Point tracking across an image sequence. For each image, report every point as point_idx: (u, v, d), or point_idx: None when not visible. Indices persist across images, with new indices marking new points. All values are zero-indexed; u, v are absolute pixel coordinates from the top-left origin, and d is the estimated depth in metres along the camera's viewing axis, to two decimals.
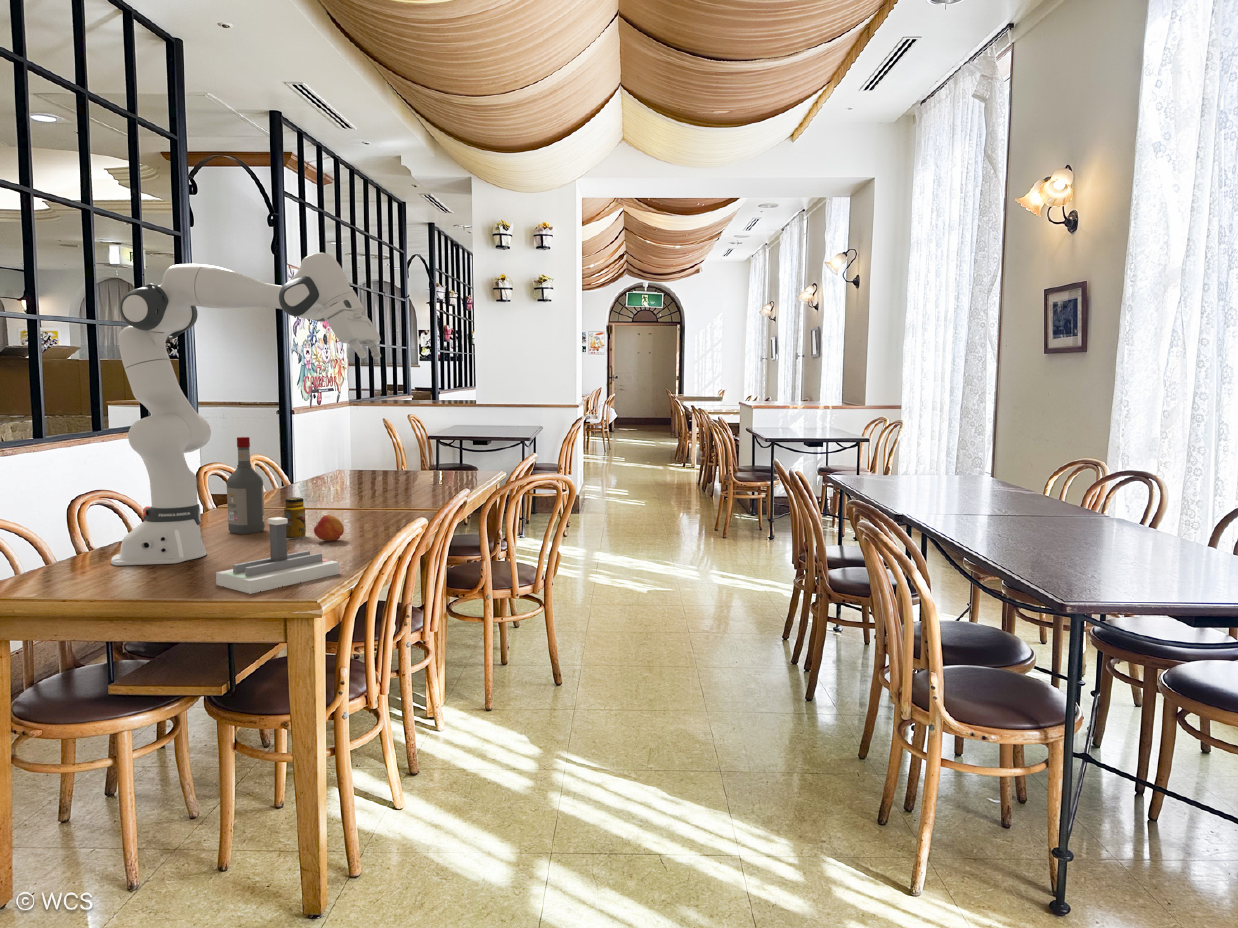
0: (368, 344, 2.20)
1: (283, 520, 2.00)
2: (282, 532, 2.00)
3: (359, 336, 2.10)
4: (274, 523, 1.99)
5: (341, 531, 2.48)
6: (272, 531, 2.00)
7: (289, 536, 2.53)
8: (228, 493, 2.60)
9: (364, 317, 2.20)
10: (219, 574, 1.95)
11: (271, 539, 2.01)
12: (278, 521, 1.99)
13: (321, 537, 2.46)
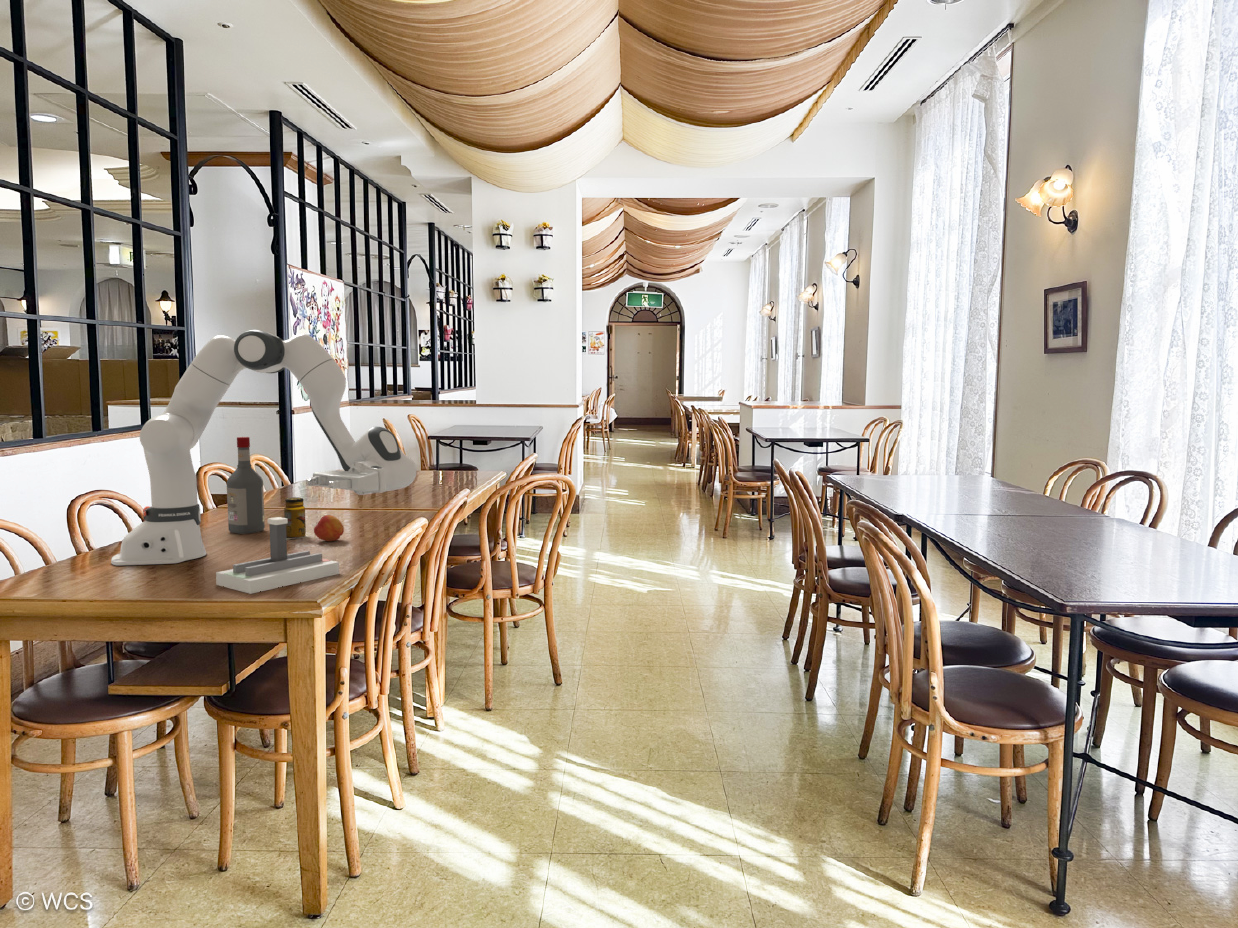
0: (322, 478, 2.16)
1: (283, 520, 2.00)
2: (282, 532, 2.00)
3: (349, 489, 2.11)
4: (274, 523, 1.99)
5: (341, 531, 2.48)
6: (272, 531, 2.00)
7: (289, 536, 2.53)
8: (228, 493, 2.60)
9: None
10: (219, 574, 1.95)
11: (271, 539, 2.01)
12: (278, 521, 1.99)
13: (321, 537, 2.46)
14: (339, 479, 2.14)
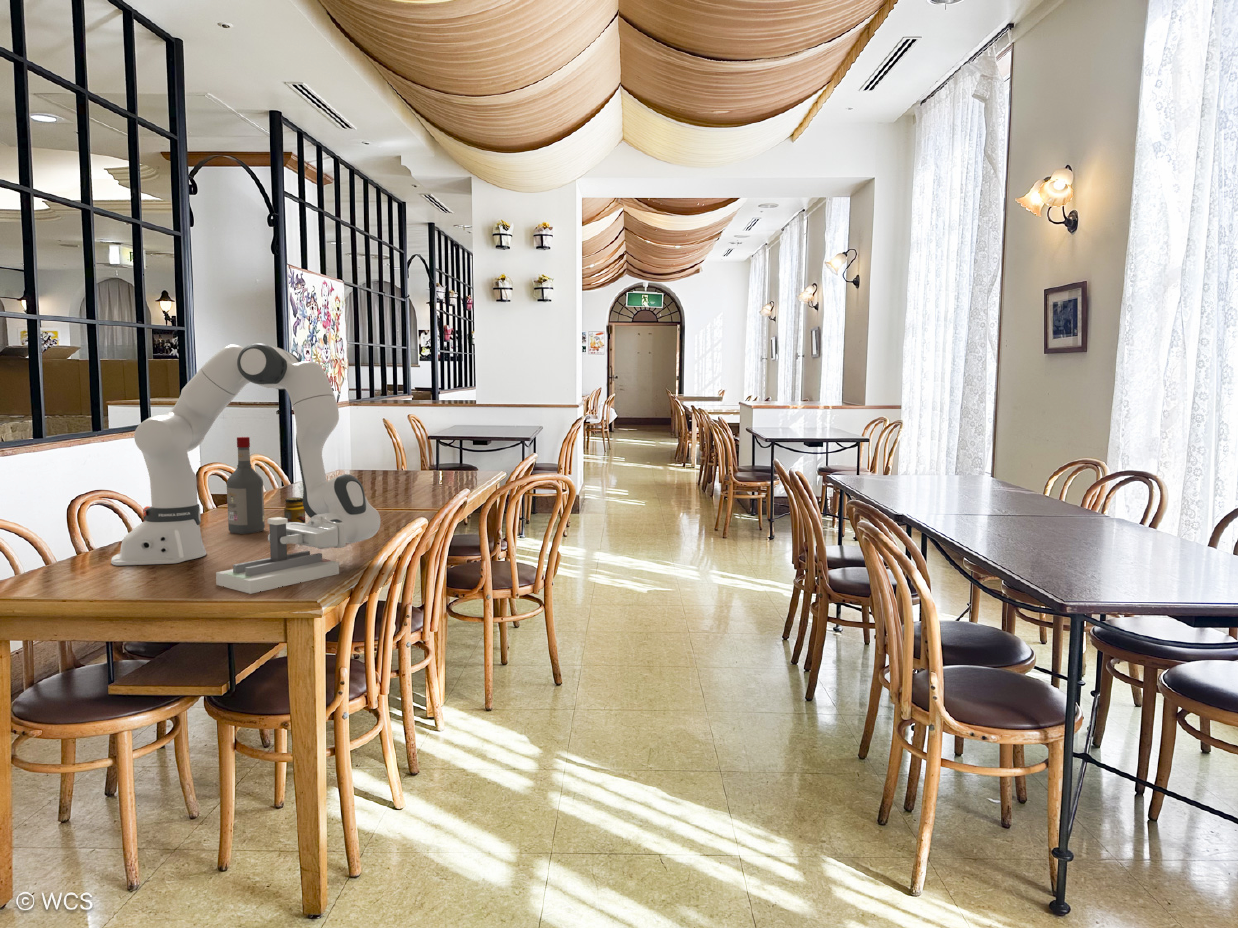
0: None
1: (283, 520, 2.00)
2: (282, 532, 2.00)
3: (306, 545, 2.02)
4: (274, 523, 1.99)
5: None
6: (272, 531, 2.00)
7: None
8: (228, 493, 2.60)
9: None
10: (219, 574, 1.95)
11: (271, 539, 2.01)
12: (278, 521, 1.99)
13: None
14: (296, 534, 2.04)
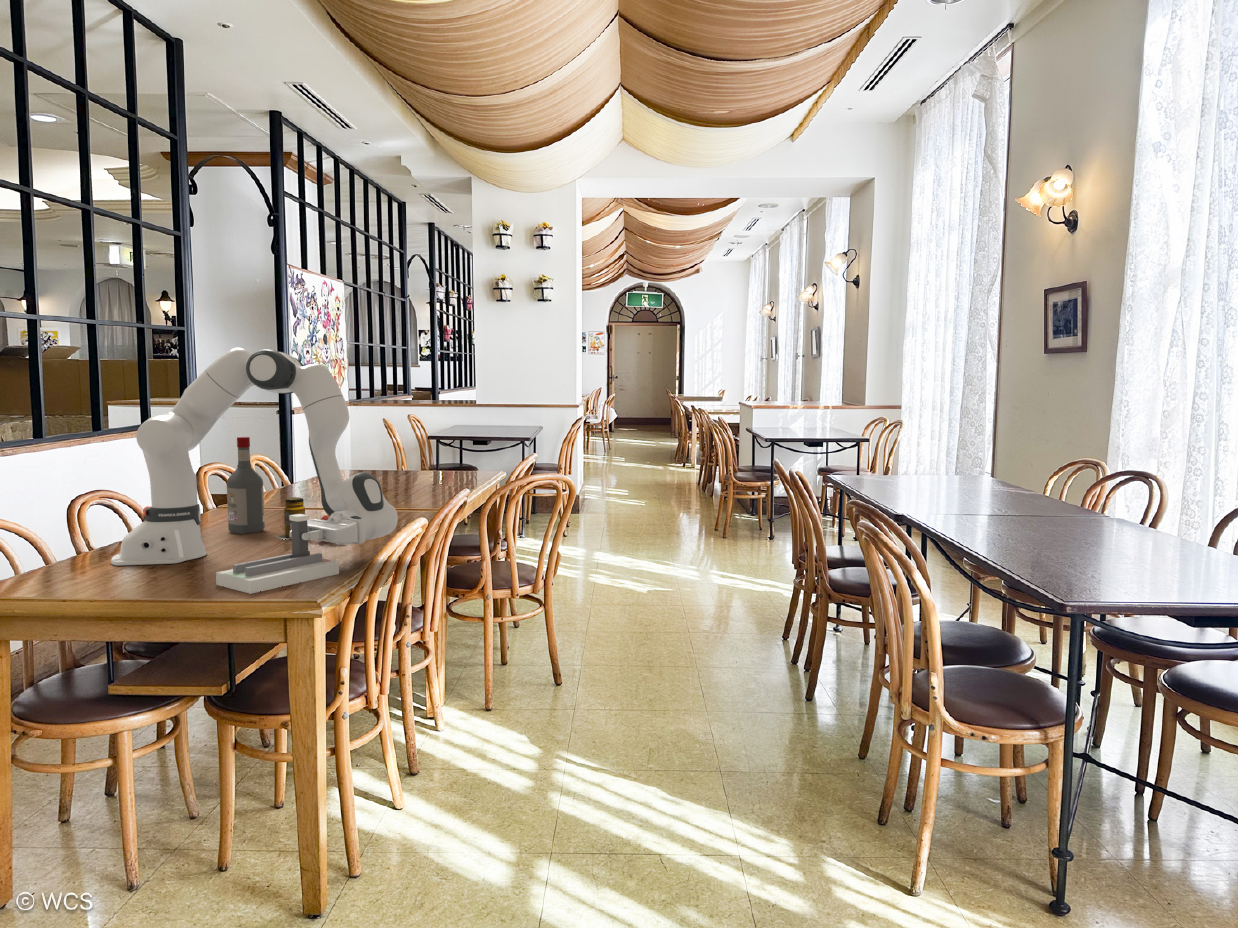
0: None
1: (304, 517, 2.05)
2: (303, 528, 2.05)
3: (327, 541, 2.07)
4: (296, 520, 2.04)
5: None
6: (294, 527, 2.05)
7: (289, 536, 2.53)
8: (228, 493, 2.60)
9: None
10: (219, 574, 1.95)
11: (293, 535, 2.06)
12: (300, 518, 2.04)
13: None
14: (317, 530, 2.09)
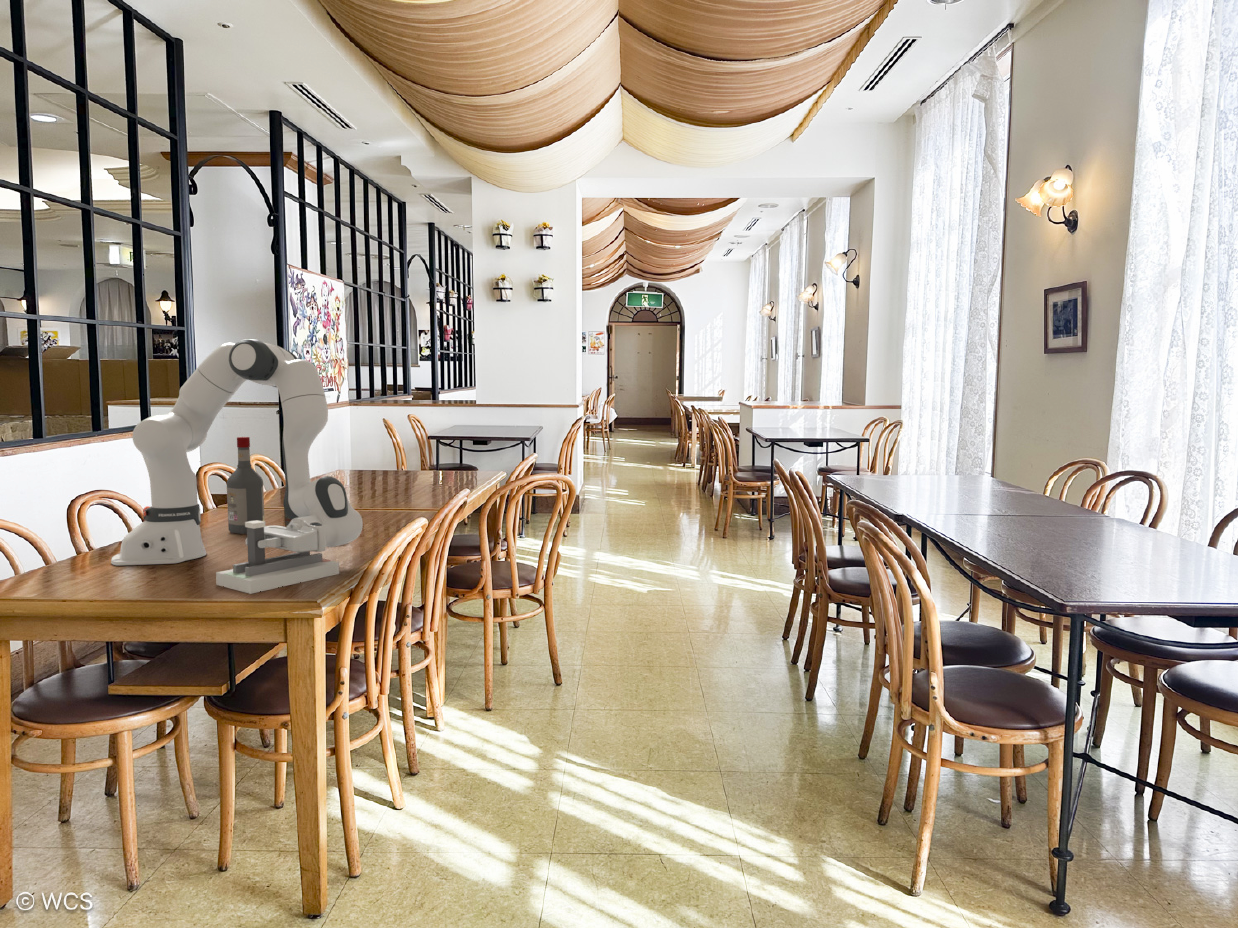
0: None
1: (261, 523, 1.95)
2: (260, 536, 1.96)
3: (284, 549, 1.97)
4: (251, 526, 1.94)
5: None
6: (249, 535, 1.95)
7: None
8: (228, 493, 2.60)
9: None
10: (219, 574, 1.95)
11: (249, 543, 1.96)
12: (256, 524, 1.94)
13: None
14: (275, 537, 2.00)
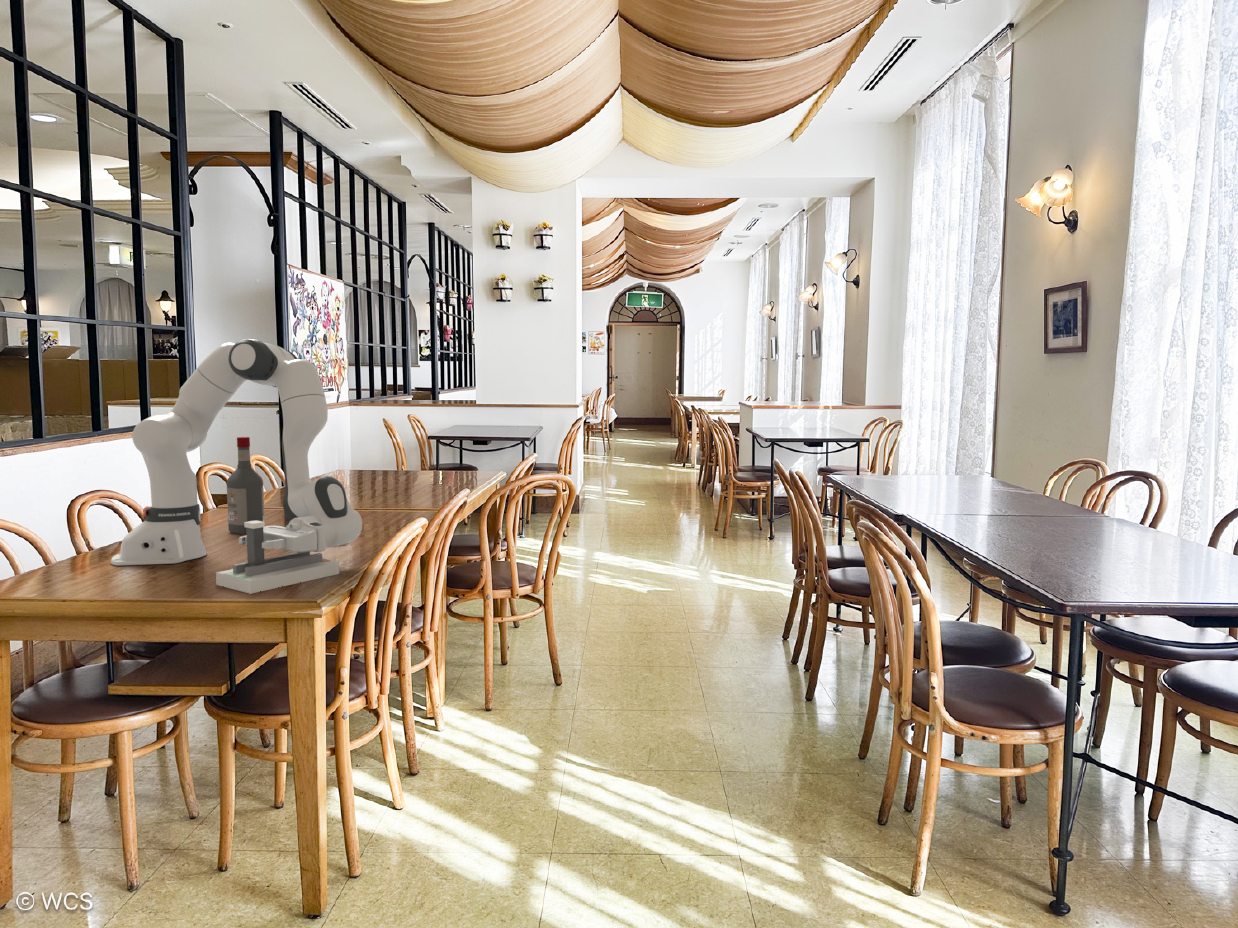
0: None
1: (260, 524, 1.95)
2: (259, 536, 1.95)
3: (284, 549, 1.97)
4: (251, 527, 1.94)
5: None
6: (249, 535, 1.95)
7: None
8: (228, 493, 2.60)
9: None
10: (219, 574, 1.95)
11: (248, 543, 1.96)
12: (255, 525, 1.94)
13: None
14: (274, 537, 1.99)
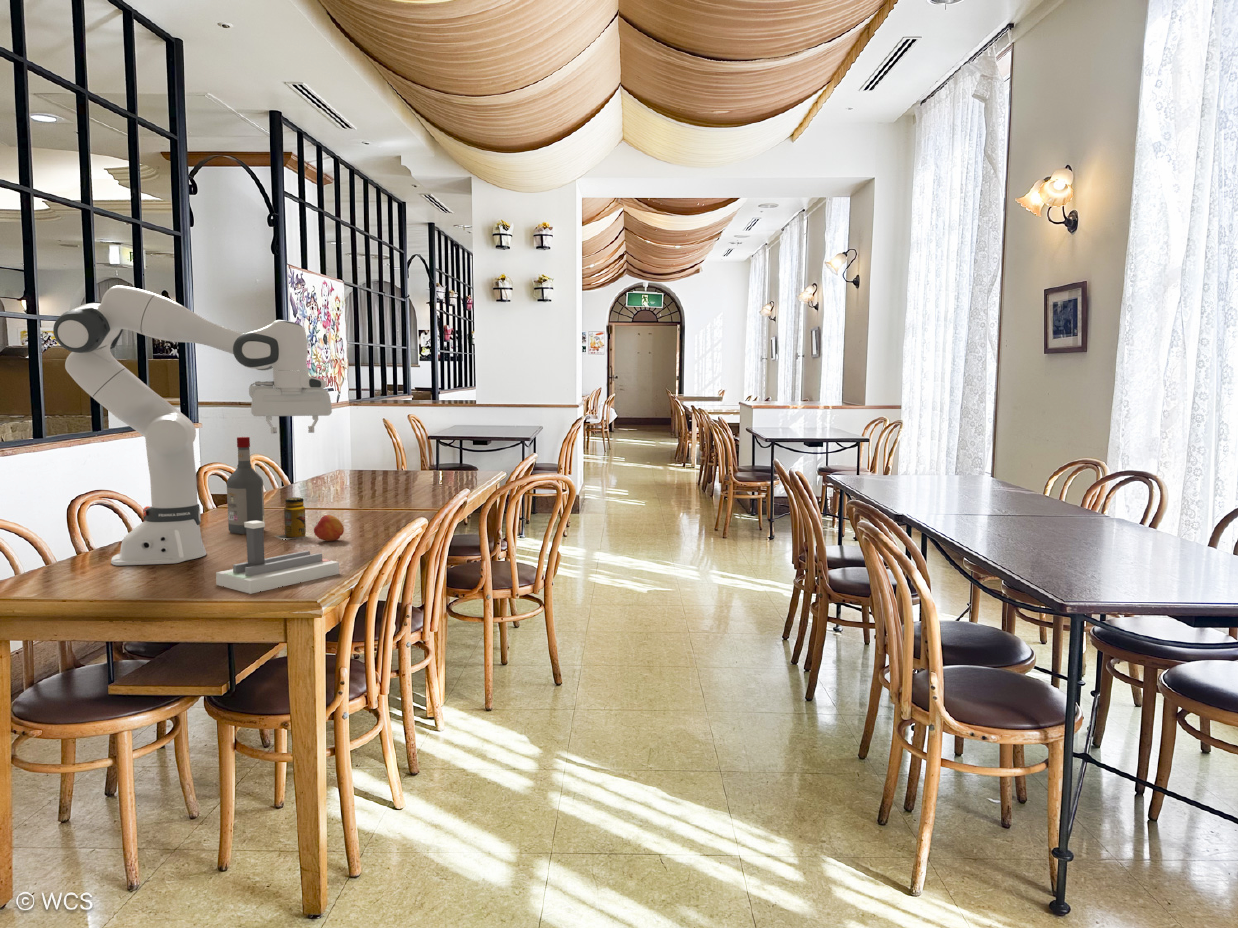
0: (271, 416, 2.20)
1: (260, 524, 1.95)
2: (259, 536, 1.95)
3: None
4: (251, 527, 1.94)
5: (341, 531, 2.48)
6: (249, 535, 1.95)
7: (289, 536, 2.53)
8: (228, 493, 2.60)
9: None
10: (219, 574, 1.95)
11: (248, 543, 1.96)
12: (255, 525, 1.94)
13: (321, 537, 2.46)
14: None
